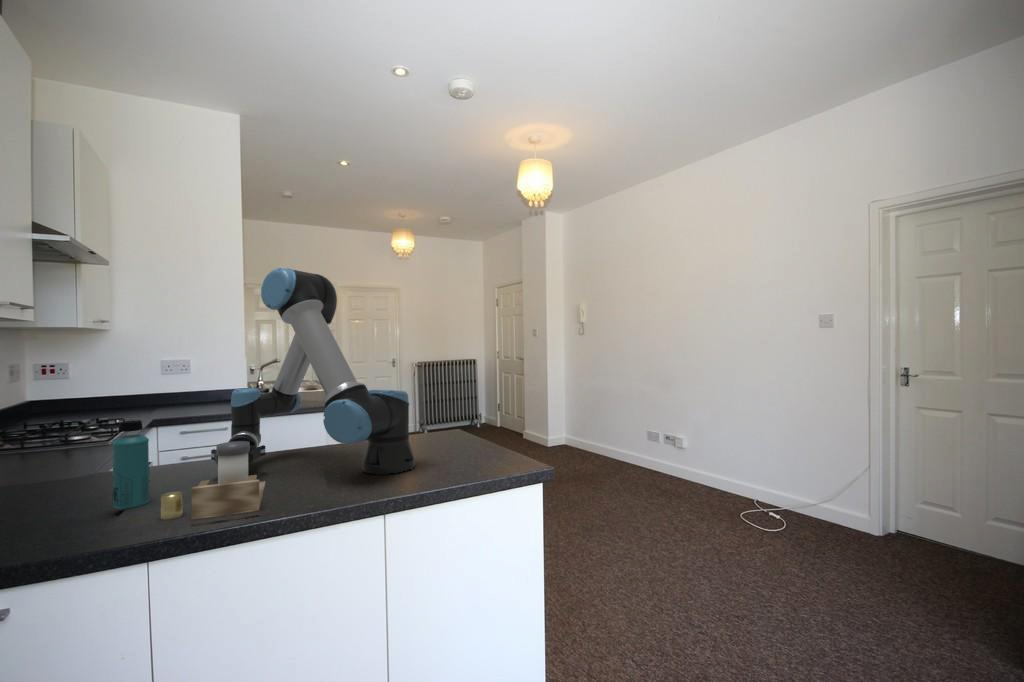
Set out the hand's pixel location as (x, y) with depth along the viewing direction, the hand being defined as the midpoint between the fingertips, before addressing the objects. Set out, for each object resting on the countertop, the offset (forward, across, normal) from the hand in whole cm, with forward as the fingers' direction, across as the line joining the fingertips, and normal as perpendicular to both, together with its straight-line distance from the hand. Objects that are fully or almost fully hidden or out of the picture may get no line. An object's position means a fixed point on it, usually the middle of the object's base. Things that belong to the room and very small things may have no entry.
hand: (230, 466), depth 111 cm
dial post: (+12, +9, -8) cm, 17 cm away
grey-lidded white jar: (+3, -1, -6) cm, 7 cm away
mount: (+4, -1, -8) cm, 9 cm away
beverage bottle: (-1, +19, -8) cm, 21 cm away
